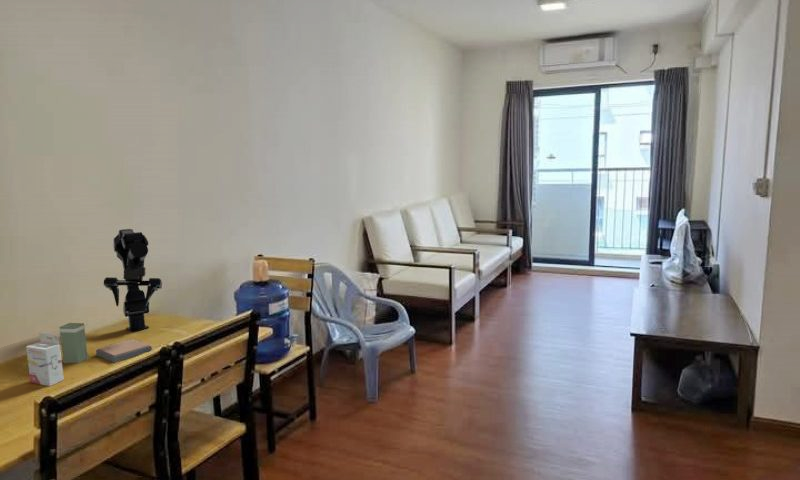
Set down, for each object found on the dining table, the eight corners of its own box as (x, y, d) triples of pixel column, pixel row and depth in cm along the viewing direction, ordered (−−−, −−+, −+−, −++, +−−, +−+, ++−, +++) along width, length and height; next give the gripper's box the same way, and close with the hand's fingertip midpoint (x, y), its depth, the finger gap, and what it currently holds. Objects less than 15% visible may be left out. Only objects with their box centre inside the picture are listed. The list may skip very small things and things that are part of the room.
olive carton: (63, 362, 177) (59, 327, 175) (73, 357, 181) (69, 322, 180) (78, 363, 176) (74, 327, 174) (88, 358, 181) (84, 323, 179)
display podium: (96, 354, 184) (95, 348, 183) (133, 344, 194) (132, 338, 194) (114, 362, 176) (113, 356, 176) (151, 351, 186) (151, 345, 186)
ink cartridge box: (29, 383, 160) (23, 336, 158) (44, 376, 165) (39, 331, 163) (49, 386, 158) (43, 339, 156) (64, 380, 162) (59, 334, 160)
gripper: (102, 258, 185) (97, 301, 181) (160, 259, 191) (157, 301, 186) (109, 266, 195) (104, 307, 191) (163, 267, 201) (160, 307, 196)
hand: (131, 306), depth 191 cm, fingers open, 9 cm apart
